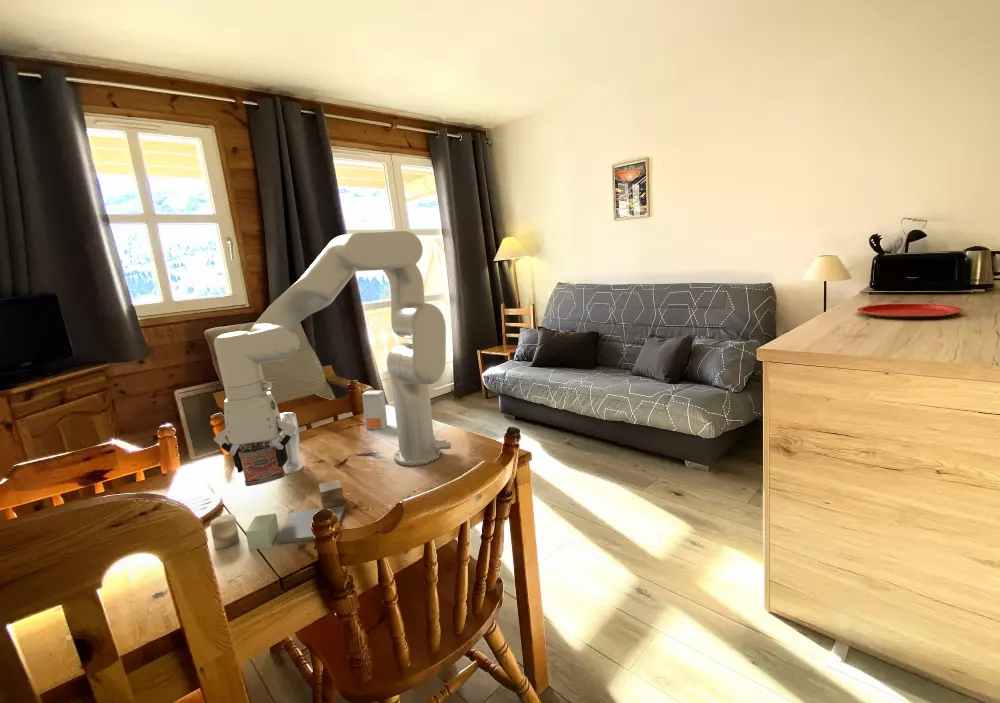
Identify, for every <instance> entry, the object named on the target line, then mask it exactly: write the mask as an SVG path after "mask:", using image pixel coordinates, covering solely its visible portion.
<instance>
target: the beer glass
mask: <svg viewBox="0 0 1000 703" xmlns="http://www.w3.org/2000/svg"><path fill="white" fill-rule="evenodd" d="M279 414H280V417H281V420H283V421H285V422H287V423H289V424H292V425H294V426H296V430H295V432H294V433H293V435H292V437H291V439H290V440H289V441H288V442H287V444H286V445H285V446H286V451H287V455H288V460H287V461H286V463H285V464H284V466H283V469H284V470H285V474H286V475H290V474H293V473H297V472H299V471H301V470H302V468H303V462H302V461H301V458H300V452H299V451H300V430H299V429H300V428H299V424H298V419H297V415H296V413H295V412H292V411H291V412H290V411H289V412H287V411H286V412H281V413H280V412H279ZM286 433H287V431H286V430H284V429H283V431H282V432H281V433H279V434H280V435H281V436H282V437H283V438H284V437H285V435H286Z"/></svg>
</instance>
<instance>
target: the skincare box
mask: <svg viewBox="0 0 1000 703" xmlns="http://www.w3.org/2000/svg"><path fill="white" fill-rule="evenodd" d="M361 397H362V405H363V406H362V408H363V416H364V425H365V429H367V430H368V429H372V430H375V429H376V430H383V429H384V428H385V427H387V425H388V419H387V411H386V410H387V408H386V402H385V401H386V399H385V391H384V390H376V389H375V390H366V391H364V392H363V393H361ZM383 427H384V428H383ZM380 428H381V429H380ZM382 428H383V429H382Z"/></svg>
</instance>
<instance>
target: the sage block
mask: <svg viewBox="0 0 1000 703" xmlns="http://www.w3.org/2000/svg"><path fill="white" fill-rule="evenodd" d="M278 523H279V522H278V517H277V513H269V514H261V515H256V516H254V518H253V519H252V521H251V522H250V525H249V526H248V528H247V530H246V531H245V537H246V540H247V542H246V543H247V547H248V550H249V551H252V550H253V551H254V550H259V549H265V548H271V547H272V546H273V543H274V541H275V540H276V537H277V535H278V534H279V531H280V529H279V524H278Z"/></svg>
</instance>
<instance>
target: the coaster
mask: <svg viewBox="0 0 1000 703" xmlns="http://www.w3.org/2000/svg"><path fill="white" fill-rule="evenodd" d="M321 509H322V508H317V509H308V510H298V511H297V510H296V511H293V512H292V513H291V515H290V517H289V518H288V520H287V521H286V523H285V525H284V527H283V528H282V530H281V532H280V533H279V535H278V537H277V539H275V540H276V544H277V545H281V544H288V543H297V542H306V541H315V540H314V537H313V534H312V531H311V524H312V517H313V515H314V514H315V513H316V512H318V511H319V510H321ZM324 509H330V510H332V511H333V513H334V514H335V515H336V516H338V518H339V521H340V523H341V522H342V519H343V516H344V513H345V511H346V507H345V505H343V506H339V507H333V508H324Z"/></svg>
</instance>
